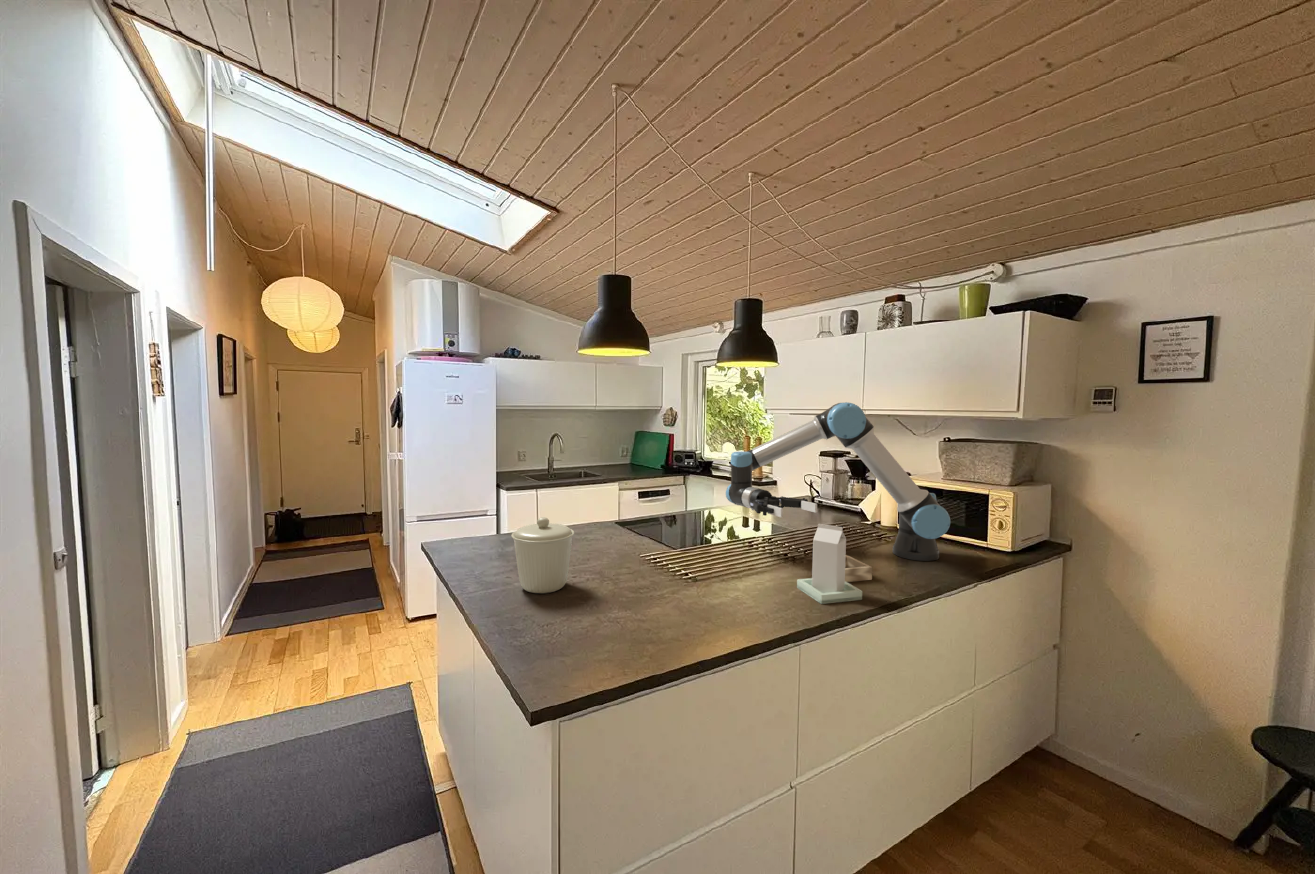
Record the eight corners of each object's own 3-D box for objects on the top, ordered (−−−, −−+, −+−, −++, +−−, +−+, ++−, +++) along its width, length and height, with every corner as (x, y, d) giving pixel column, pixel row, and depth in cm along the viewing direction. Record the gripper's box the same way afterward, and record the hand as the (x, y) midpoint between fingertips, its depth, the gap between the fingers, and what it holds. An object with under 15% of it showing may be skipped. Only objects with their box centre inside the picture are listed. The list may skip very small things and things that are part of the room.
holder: (846, 566, 178) (846, 555, 177) (871, 579, 165) (872, 566, 165) (812, 569, 174) (812, 557, 174) (835, 583, 162) (835, 570, 162)
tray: (834, 583, 161) (835, 575, 161) (862, 599, 149) (862, 590, 148) (796, 587, 158) (797, 579, 158) (821, 604, 145) (821, 595, 145)
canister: (560, 601, 146) (560, 526, 145) (500, 596, 150) (499, 523, 148) (583, 579, 164) (582, 512, 162) (528, 575, 168) (527, 509, 166)
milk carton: (836, 596, 148) (838, 529, 147) (811, 590, 153) (813, 525, 151) (844, 589, 154) (846, 525, 152) (820, 583, 158) (822, 521, 157)
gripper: (786, 506, 188) (829, 517, 169) (727, 514, 178) (766, 527, 159) (786, 485, 188) (829, 494, 169) (727, 491, 177) (766, 502, 158)
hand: (799, 510), depth 164 cm, fingers open, 13 cm apart
